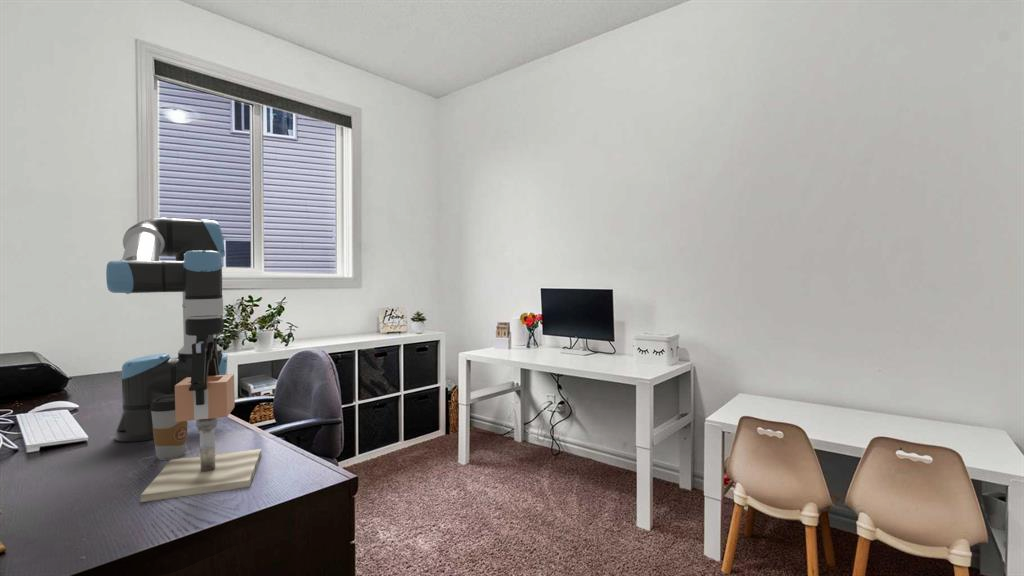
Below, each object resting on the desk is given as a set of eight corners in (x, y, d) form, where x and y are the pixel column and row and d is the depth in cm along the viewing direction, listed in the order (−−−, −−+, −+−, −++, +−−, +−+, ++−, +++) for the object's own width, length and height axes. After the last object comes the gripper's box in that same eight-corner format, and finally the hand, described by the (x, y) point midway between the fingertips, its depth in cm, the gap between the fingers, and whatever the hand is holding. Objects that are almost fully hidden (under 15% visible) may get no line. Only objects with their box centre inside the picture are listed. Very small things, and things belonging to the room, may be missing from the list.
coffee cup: (170, 462, 125) (169, 403, 125) (143, 460, 127) (141, 402, 127) (197, 451, 134) (196, 395, 133) (171, 449, 135) (170, 394, 135)
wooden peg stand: (171, 465, 124) (169, 406, 123) (261, 454, 131) (260, 398, 130) (140, 502, 103) (139, 431, 103) (249, 486, 110) (248, 420, 110)
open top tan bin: (187, 410, 119) (186, 377, 119) (234, 406, 123) (233, 374, 123) (175, 421, 110) (174, 385, 110) (227, 416, 114) (226, 381, 113)
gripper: (197, 315, 125) (199, 403, 126) (171, 321, 104) (174, 427, 105) (231, 314, 128) (233, 400, 128) (212, 320, 107) (215, 423, 107)
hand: (206, 412), depth 116 cm, fingers closed on open top tan bin, 10 cm apart
